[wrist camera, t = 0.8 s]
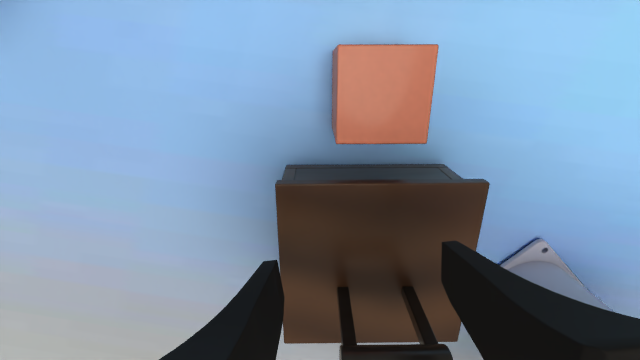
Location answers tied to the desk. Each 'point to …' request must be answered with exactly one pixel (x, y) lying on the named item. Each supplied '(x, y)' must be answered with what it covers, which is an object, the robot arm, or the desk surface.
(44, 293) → the desk surface
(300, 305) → the lid
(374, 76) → the note cube
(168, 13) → the desk surface
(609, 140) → the desk surface
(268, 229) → the desk surface
